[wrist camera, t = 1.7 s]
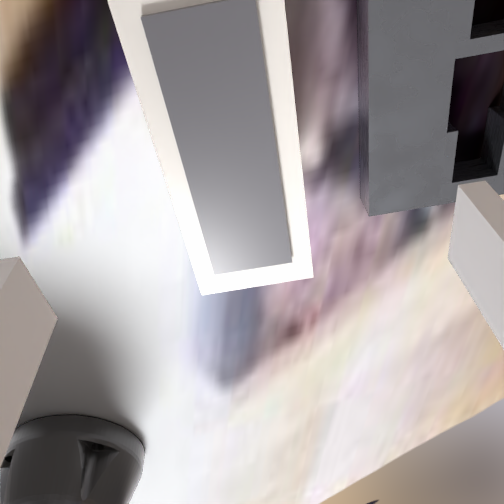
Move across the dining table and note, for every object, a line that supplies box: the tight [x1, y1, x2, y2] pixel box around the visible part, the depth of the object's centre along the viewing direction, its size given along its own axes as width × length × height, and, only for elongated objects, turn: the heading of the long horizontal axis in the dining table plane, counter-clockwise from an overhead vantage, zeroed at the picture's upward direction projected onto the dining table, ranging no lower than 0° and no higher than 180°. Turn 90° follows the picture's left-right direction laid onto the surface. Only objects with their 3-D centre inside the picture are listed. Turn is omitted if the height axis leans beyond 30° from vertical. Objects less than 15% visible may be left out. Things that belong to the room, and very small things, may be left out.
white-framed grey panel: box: [107, 0, 313, 295], centre depth 23 cm, size 6×15×10 cm, turn 9°
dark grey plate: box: [357, 0, 504, 216], centre depth 26 cm, size 14×20×2 cm
